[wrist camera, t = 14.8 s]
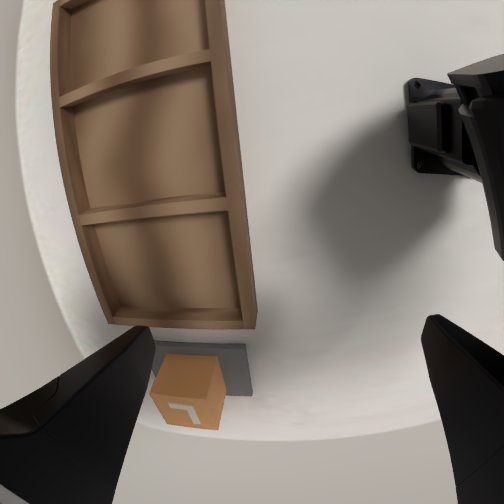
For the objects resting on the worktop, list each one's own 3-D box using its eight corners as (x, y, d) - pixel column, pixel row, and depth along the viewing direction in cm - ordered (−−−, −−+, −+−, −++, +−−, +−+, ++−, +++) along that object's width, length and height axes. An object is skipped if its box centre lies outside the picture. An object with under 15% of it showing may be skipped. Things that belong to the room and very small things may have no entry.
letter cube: (217, 356, 25) (206, 400, 20) (226, 389, 27) (217, 430, 22) (166, 353, 25) (148, 394, 21) (180, 386, 27) (166, 424, 23)
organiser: (219, -46, 11) (213, -60, 9) (257, 311, 23) (255, 329, 21) (69, 8, 13) (53, 3, 11) (119, 309, 24) (108, 323, 22)
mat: (245, 344, 24) (244, 348, 24) (252, 391, 27) (252, 396, 27) (142, 339, 26) (140, 343, 25) (163, 385, 29) (161, 389, 28)
